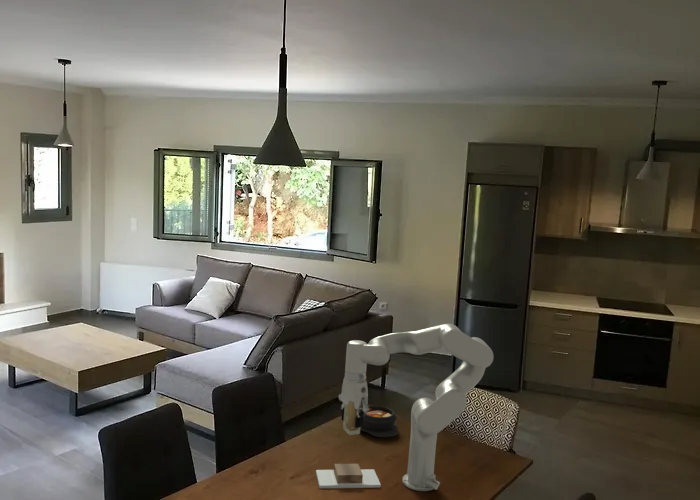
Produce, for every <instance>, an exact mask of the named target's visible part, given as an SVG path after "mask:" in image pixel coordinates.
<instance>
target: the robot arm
mask: <svg viewBox="0 0 700 500" xmlns="http://www.w3.org/2000/svg"><path fill="white" fill-rule="evenodd" d="M441 350H444V351H446V352H448V353H449V354H451V355H452V356H454V357H456V358H458V359H459V360H461V361H462V362H461V364H460V366H458V368H457V369H455V371H453V372H452V373H451V374H450V375H448V377H446V378H445V379H444V380H443V381H442V382H441V383H439V384H438V385H437V387H436V389H435V393H434V394H435V398H436V399H435V400H433V399H431V398H429V397H420V398H418V399H417V400H415V401H414V402H413V405H412V407H411V412H410V436H409V437H410V438H409V439H410V440H409V448H408V449H409V451H408V460H407V461H408V462H407V472H406V474H404V475H403V476H402V480H401V481H402V484H403V485H404V486H405V487H407V488H408V489H410V490H413V491H417V492H429V491H433V490H438V488H439V486H440V485H441V481H439V480H437V479H436V477H437V476H436V474H435V473H434V472H435V460H436V448H437V441H438V433H440V432H441V431H443V430H444V429H445V428H447V426H448V425H450V424H451V423H452V422H454V421H455V420H456V419H457V418H458V417H459V416H460V415H461V414H462V413H464V411H465V408H466V407H467V402H468V401H467V396H466V395H467V394H468V393H469V392H470V391H471V390H472V389H474V387H476V385H477V384H478V383H479V382H480V381H481V380H482V378H483V376H484V374H485V371H486V368H488V367H490V366H491V364H493V362H494V352H493V350H492V349H491V347H490V346H489V345H488V344H487V343H486V342H485V341H484V339H481V338H480V337H476V336H472V337H471V336H470V335H468V334H467V333H464V332H462V331H461V329H460V328H459V327H458V326H456V325H455V324H453V323H444V324H438V325H434V326H431V327H427V328H423V329H418V330H415V331H404V332H394V333H388V334H384V335H380V336H377V337H374V338H372V339H370V341H369V342H368V343H367V342H365V341H363V340H360V339H359V340H357V339H355V340H354V339H353V340H350V341H348V342H347V344H346V352H345V355H346V356H345V365H344V366H345V368H344V377H343V379H342V381H343V382H342V385H341V393H339V394H338V400H339V403H340V406H341V407H340V410H341V421H342V422H343V420H344V407H345V404H346V405H348V403H349V401H351V402H353V403H354V409H355V410H356V414H357V417H356V418H355V427H356V428H358V427H362V426H363V416H365V414H366V413H367V412H368V411H369V407H368V406H369V405H368V404H369V403H368V401H369V397H368V396H369V391H368V382H367V381H368V380H367V365H374V366H383V365H385V364H387V363H388V362H389V360H390V357H391V355H392V354H398V353H409V354H411V355H412V354H413V355H418V356H419V355H420V356H421V355H425V354H428V353H432V352H437V351H441ZM361 404H362V407H360V408H359V406H360V405H361ZM363 408H364V409H363ZM360 409H361V412H360V413H359V410H360Z"/></svg>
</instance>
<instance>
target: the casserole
mask: <svg viewBox="0 0 700 500" xmlns="http://www.w3.org/2000/svg"><path fill="white" fill-rule="evenodd" d="M368 407H369V411H368V412H367V413H366V414H365V416H363V426H362V427H360V431H362V432H366V433H367V434H370V435H372V436H373V437H377V438H391V437H394V436H395V437H396V436H397V435H399V431H398V429H399V428H398V425H397V424H396V422H395V421H397V416H396V414H395V411H394V410H393V409H391V408H389V407H386V406H382V405H368ZM363 409H364V408H363Z"/></svg>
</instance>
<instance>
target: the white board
mask: <svg viewBox="0 0 700 500" xmlns="http://www.w3.org/2000/svg"><path fill="white" fill-rule="evenodd" d="M361 472H362V474H363V479H362V483H337V480H336V477H335V474H334V469H316V470H315V475H316V480H317V483H318V487H319V489H359V488H361V489H362V488H363V489H364V488H367V489H368V488H370V489H371V488H373V489H374V488H375V489H376V488H381V486H382V485H381V482H380V479H379V477H378V475H377V473H376V470H375V469H374V468H373V469H372V468H371V469H366V468H365V469H361Z"/></svg>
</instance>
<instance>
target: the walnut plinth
mask: <svg viewBox="0 0 700 500" xmlns="http://www.w3.org/2000/svg"><path fill="white" fill-rule="evenodd" d="M333 470H334V474H335V477H336V480H337V483H362V479H363V474H362V472H361V470H362V468H361V467H360V465H359V463H333Z"/></svg>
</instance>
